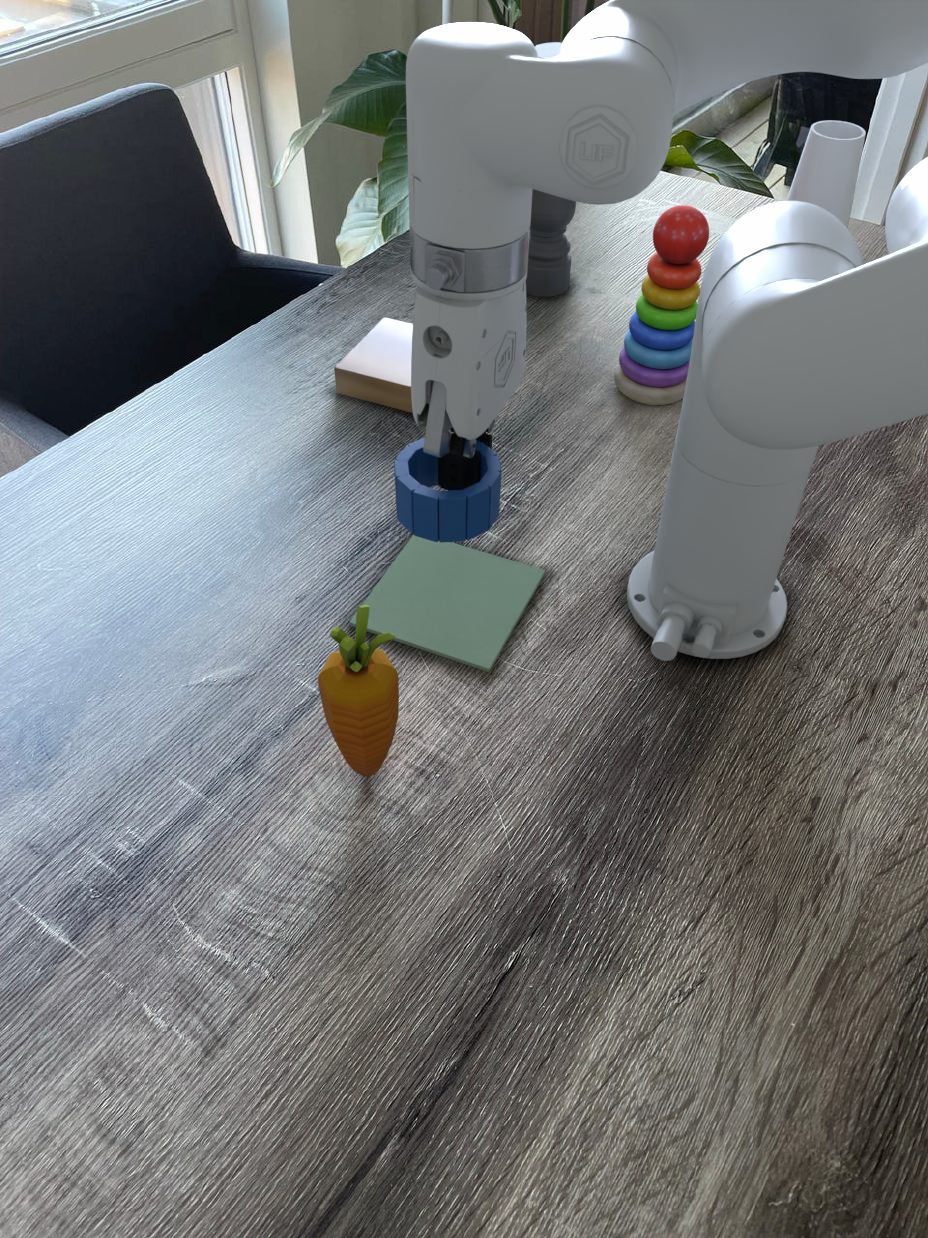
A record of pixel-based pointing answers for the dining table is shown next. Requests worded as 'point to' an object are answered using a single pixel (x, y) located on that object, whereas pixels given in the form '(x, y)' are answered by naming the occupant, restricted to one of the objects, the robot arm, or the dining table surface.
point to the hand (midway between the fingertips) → (464, 481)
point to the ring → (445, 497)
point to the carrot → (360, 697)
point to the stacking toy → (665, 312)
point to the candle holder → (549, 231)
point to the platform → (379, 366)
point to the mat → (451, 600)
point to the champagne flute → (829, 167)
